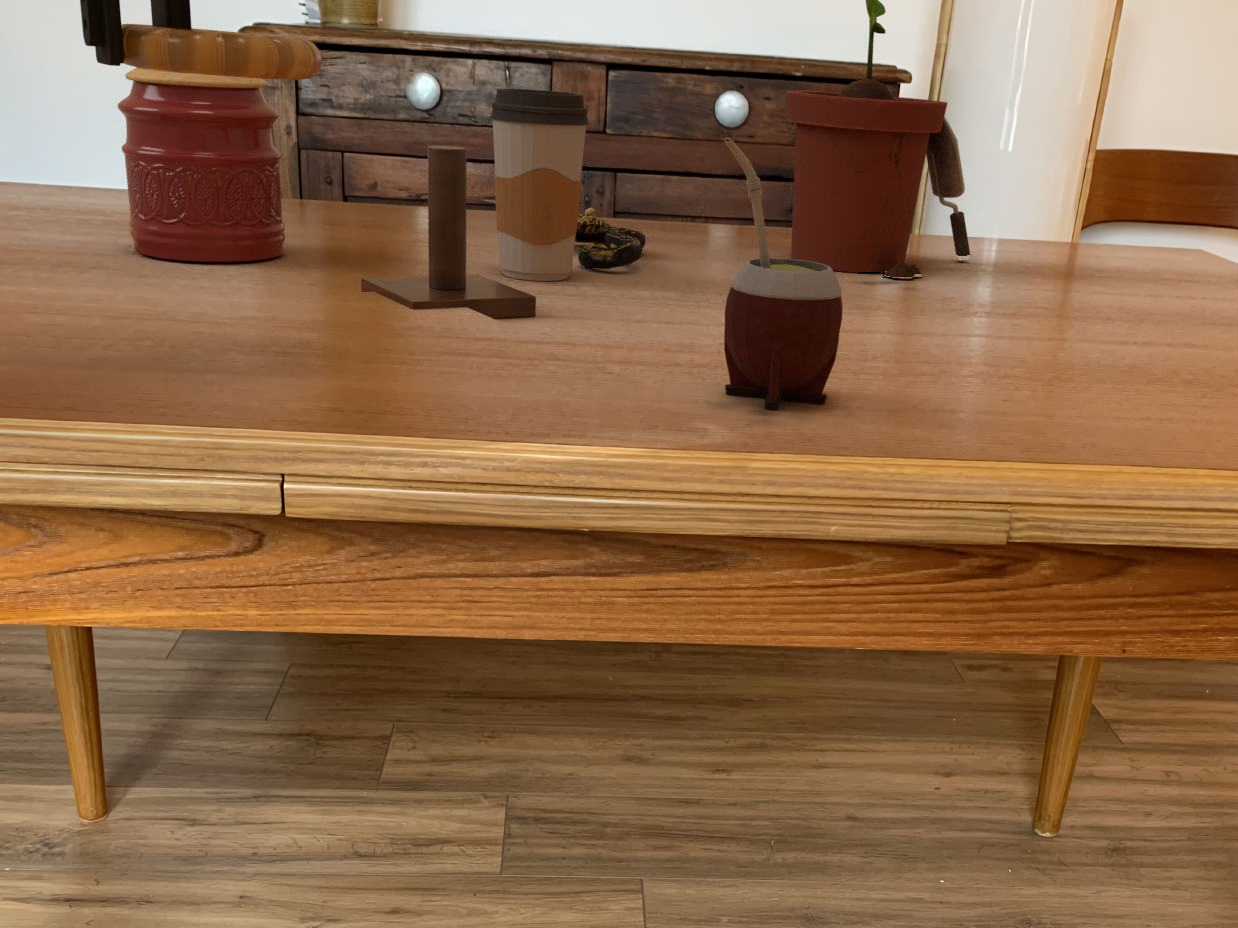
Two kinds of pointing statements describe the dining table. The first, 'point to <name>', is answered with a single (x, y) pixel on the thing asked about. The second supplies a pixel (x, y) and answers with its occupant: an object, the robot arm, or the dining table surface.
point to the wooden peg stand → (451, 253)
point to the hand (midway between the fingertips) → (140, 62)
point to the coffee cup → (537, 180)
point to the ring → (219, 53)
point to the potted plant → (868, 172)
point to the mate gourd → (779, 320)
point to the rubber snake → (606, 243)
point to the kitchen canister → (202, 167)
